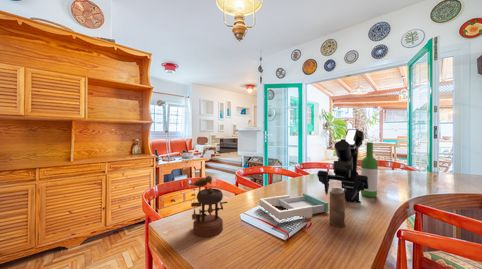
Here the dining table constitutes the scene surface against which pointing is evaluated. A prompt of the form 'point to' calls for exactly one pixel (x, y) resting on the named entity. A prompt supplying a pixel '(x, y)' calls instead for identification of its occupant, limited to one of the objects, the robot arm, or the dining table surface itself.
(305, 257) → the dining table surface
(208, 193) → the music box
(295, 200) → the grey tray
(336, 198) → the pepper mill
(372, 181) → the wine bottle
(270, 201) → the tray sleeve
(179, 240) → the dining table surface
